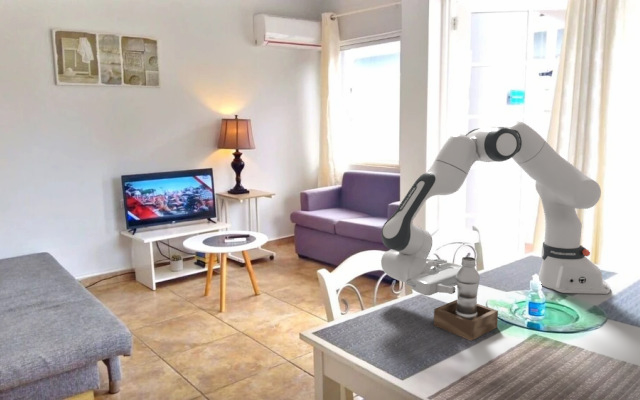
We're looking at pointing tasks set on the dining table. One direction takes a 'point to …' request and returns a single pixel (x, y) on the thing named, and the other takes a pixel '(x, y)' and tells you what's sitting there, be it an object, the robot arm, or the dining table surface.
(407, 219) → the robot arm
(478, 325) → the open wooden box
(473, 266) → the plastic bottle
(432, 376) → the dining table surface
